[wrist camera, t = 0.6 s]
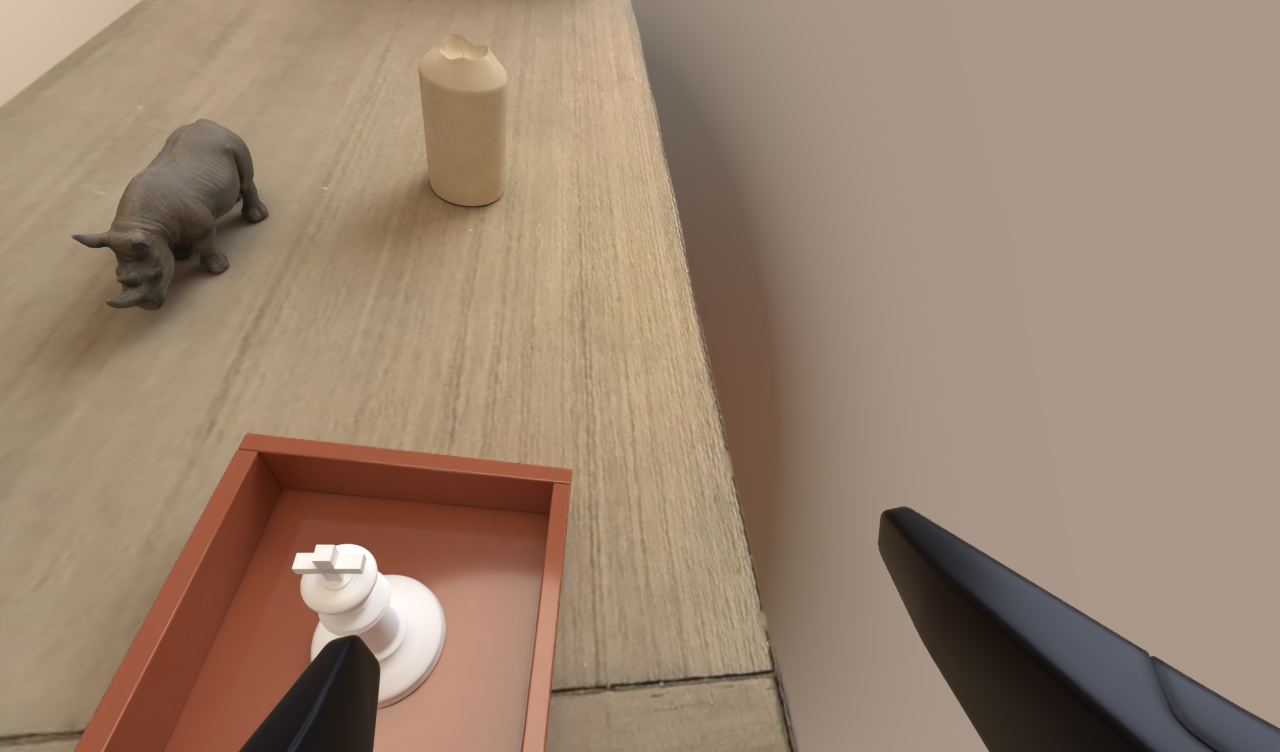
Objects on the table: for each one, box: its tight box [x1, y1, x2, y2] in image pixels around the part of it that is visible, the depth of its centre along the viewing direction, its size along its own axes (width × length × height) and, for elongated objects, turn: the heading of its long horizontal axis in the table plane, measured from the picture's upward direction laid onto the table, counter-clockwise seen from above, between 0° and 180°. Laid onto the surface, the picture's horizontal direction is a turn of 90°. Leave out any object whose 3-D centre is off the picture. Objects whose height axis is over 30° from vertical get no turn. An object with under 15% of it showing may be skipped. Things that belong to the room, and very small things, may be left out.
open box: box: [74, 433, 572, 752], centre depth 21 cm, size 14×14×4 cm
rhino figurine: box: [72, 119, 268, 310], centre depth 30 cm, size 4×14×6 cm, turn 1°
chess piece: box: [292, 544, 446, 709], centre depth 18 cm, size 5×5×10 cm
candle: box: [418, 34, 508, 206], centre depth 38 cm, size 6×6×10 cm
